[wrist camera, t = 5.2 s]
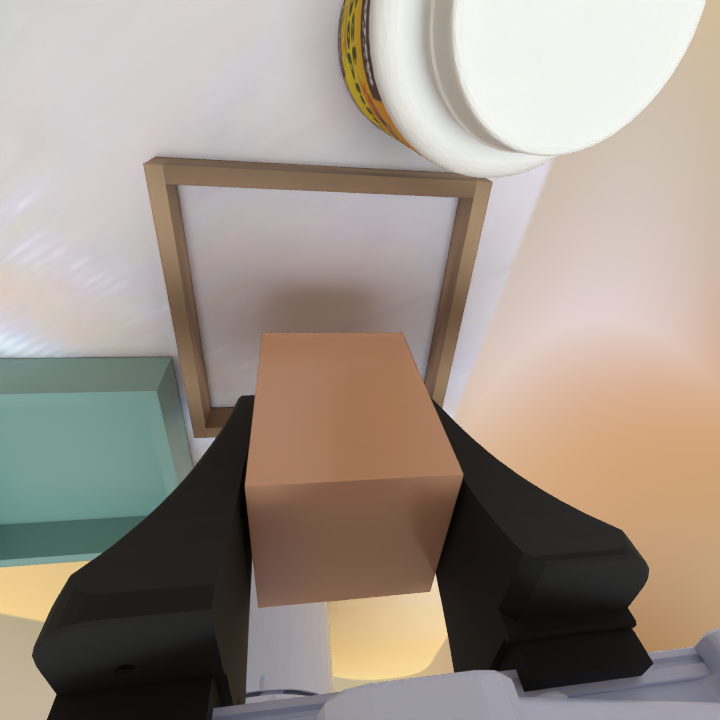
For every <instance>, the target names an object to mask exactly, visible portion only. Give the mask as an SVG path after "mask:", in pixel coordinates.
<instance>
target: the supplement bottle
mask: <svg viewBox="0 0 720 720" xmlns="http://www.w3.org/2000/svg"><path fill="white" fill-rule="evenodd" d="M705 2H706V0H344V3H343V6H342V10H341V15H340V20H339V29H338V52H339V61H340V66H341V70H342V74H343V78H344V81H345V84H346V86H347V89H348V91H349V93H350V95H351V97H352V99H353V100H354V102H355V103H356V105H357V107H358V108H359V109H360V110H361V112H362V113H363V114H364V115H365V116H366V117H367V118H368V119H369V120H370V121H371V122H372V123H373V124H374V125H376V126H377V127H378V128H380V129H381V130H383V131H384V132H386V133H388V134H389V135H391V136H392V137H394V138H395V139H396V140H398V141H400V142H401V143H403V144H405V145H406V146H408V147H409V148H411V149H412V150H414V151H415V152H417V153H418V154H419V155H421V156H423V157H424V158H426V159H427V160H429V161H430V162H432V163H434V164H436V165H438V166H440V167H442V168H444V169H447V170H449V171H451V172H454V173H458V174H461V175H465V176H470V177H477V178H494V177H504V176H510V175H514V174H518V173H521V172H525V171H528V170H531V169H533V168H535V167H537V166H540V165H542V164H544V163H546V162H548V161H550V160H552V159H553V158H555V157H556V156H558V155H563V154H568V153H573V152H577V151H580V150H583V149H585V148H588V147H591V146H593V145H595V144H597V143H599V142H601V141H603V140H605V139H606V138H608V137H610V136H611V135H613V134H614V133H616V132H617V131H619V130H620V129H621V128H623V127H624V126H625V125H627V124H628V123H629V122H630V121H631V120H632V119H634V118H635V117H636V116H637V115H638V114H639V113H640V112H641V111H642V110H643V109H644V108H645V107H646V106H647V105H648V104H649V103H650V102H651V101H652V99H653V98H654V97H655V96H656V95H657V94H658V92H659V91H660V90H661V89H662V87H663V86H664V85H665V83H666V82H667V81H668V79H669V78H670V76H671V75H672V74H673V72H674V70H675V69H676V67H677V65H678V64H679V62H680V60H681V59H682V57H683V55H684V53H685V52H686V50H687V47H688V45H689V43H690V41H691V39H692V37H693V35H694V32H695V30H696V27H697V25H698V22H699V19H700V17H701V14H702V12H703V9H704V5H705Z"/></svg>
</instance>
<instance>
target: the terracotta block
mask: <svg viewBox="0 0 720 720" xmlns="http://www.w3.org/2000/svg"><path fill="white" fill-rule="evenodd" d="M463 475H464V474H463V472H462V470H461V467H460V465H459V463H458V460H457V458H456V456H455V453H454V451H453V449H452V447H451V444H450V442H449V440H448V437H447V435H446V433H445V430H444V428H443V426H442V424H441V421H440V419H439V417H438V414H437V412H436V410H435V407H434V405H433V403H432V401H431V398H430V396H429V394H428V391H427V389H426V387H425V384H424V382H423V380H422V378H421V375H420V373H419V371H418V368H417V366H416V364H415V361H414V359H413V357H412V354H411V352H410V350H409V348H408V345H407V343H406V341H405V338H404V336H403V334H402V332H396V333H262V341H261V350H260V358H259V367H258V376H257V384H256V393H255V402H254V411H253V419H252V428H251V437H250V445H249V454H248V463H247V471H246V480H245V493H246V503H247V512H248V521H249V530H250V539H251V549H252V558H253V567H254V576H255V586H256V595H257V604H258V608H265V607H275V606H286V605H296V604H306V603H317V602H327V601H338V600H348V599H358V598H369V597H379V596H390V595H400V594H410V593H421V592H430V590H431V587H432V583H433V580H434V576H435V573H436V569H437V566H438V562H439V559H440V555H441V552H442V548H443V545H444V541H445V538H446V534H447V531H448V527H449V524H450V520H451V517H452V513H453V510H454V506H455V503H456V499H457V496H458V493H459V489H460V486H461V482H462V479H463Z"/></svg>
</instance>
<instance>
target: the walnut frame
mask: <svg viewBox="0 0 720 720" xmlns="http://www.w3.org/2000/svg"><path fill="white" fill-rule="evenodd" d="M143 165H144V171H145V176H146V182H147V187H148V192H149V198H150V203H151V208H152V214H153V219H154V225H155V230H156V235H157V241H158V246H159V251H160V257H161V262H162V267H163V273H164V278H165V284H166V289H167V294H168V300H169V305H170V310H171V316H172V321H173V326H174V332H175V337H176V343H177V348H178V353H179V359H180V364H181V369H182V375H183V380H184V386H185V391H186V396H187V402H188V407H189V412H190V418H191V423H192V428H193V434H194V438H208V437H217V435H218V434H219V432H220V431H221V429H222V428H223V426H224V425H225V423H226V421H227V420H228V418H229V416H230V414H231V413H232V411H233V409H234V408H211V407H210V401H209V394H208V388H207V381H206V374H205V368H204V361H203V354H202V348H201V341H200V334H199V328H198V321H197V315H196V308H195V301H194V295H193V288H192V281H191V275H190V268H189V262H188V255H187V248H186V242H185V235H184V228H183V222H182V215H181V209H180V202H179V195H178V189H177V185H196V186H218V187H239V188H261V189H283V190H305V191H327V192H349V193H371V194H393V195H415V196H437V197H458V198H459V202H458V207H457V213H456V218H455V223H454V229H453V234H452V239H451V245H450V250H449V255H448V261H447V266H446V271H445V277H444V282H443V287H442V293H441V298H440V303H439V309H438V314H437V319H436V325H435V330H434V335H433V341H432V346H431V351H430V357H429V362H428V367H427V373H426V378H425V383H424V384H425V387H426V389H427V391H428V394H429V396H430V397H431V398H432V399H433V400H434V401H435V402H436V403H437V404H438V405H439V406H440V407H441V408H442V406H443V402H444V397H445V393H446V388H447V384H448V379H449V375H450V370H451V366H452V361H453V357H454V352H455V348H456V343H457V339H458V335H459V330H460V326H461V321H462V317H463V312H464V308H465V303H466V299H467V294H468V290H469V285H470V281H471V276H472V272H473V267H474V263H475V259H476V254H477V250H478V245H479V241H480V236H481V232H482V227H483V223H484V218H485V214H486V209H487V205H488V200H489V196H490V191H491V187H492V181H490V180H488V179H486V178H477V177H470V176H465V175H461V174H458V173H442V172H424V171H405V170H387V169H368V168H350V167H332V166H313V165H295V164H276V163H258V162H240V161H221V160H203V159H184V158H166V157H154V158H152V159H151V160H149V161H147V162H146V163H144V164H143Z"/></svg>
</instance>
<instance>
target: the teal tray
mask: <svg viewBox="0 0 720 720" xmlns="http://www.w3.org/2000/svg"><path fill="white" fill-rule="evenodd" d="M192 469H193V464H192V459H191V454H190V449H189V444H188V439H187V434H186V429H185V424H184V419H183V414H182V409H181V404H180V399H179V394H178V388H177V383H176V378H175V373H174V368H173V363H172V358H171V357H119V358H26V359H0V567H11V566H25V565H38V564H51V563H65V562H78V561H91V560H93V559H95V558H96V557H97V556H99V555H100V554H102V553H103V552H104V551H106V550H107V549H109V548H110V547H111V546H112V545H114V544H115V543H116V542H117V541H119V540H120V539H121V538H122V537H123V536H125V535H126V534H127V533H128V532H129V531H131V530H132V529H133V528H134V527H135V526H136V525H138V524H139V523H140V522H141V521H142V520H144V519H145V518H146V517H147V516H148V515H149V514H150V513H151V512H152V511H153V510H154V509H156V508H157V507H158V506H159V505H160V504H161V503H162V502H163V501H164V500H165V499H166V498H167V497H168V496H169V495H170V494H171V493H172V492H173V491H174V490H175V488H176V487H177V486H178V485H179V484H180V483H181V482H182V481H183V480H184V479H185V477H186V476H187V475H188V474H189V473H190V472H191V470H192Z"/></svg>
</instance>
